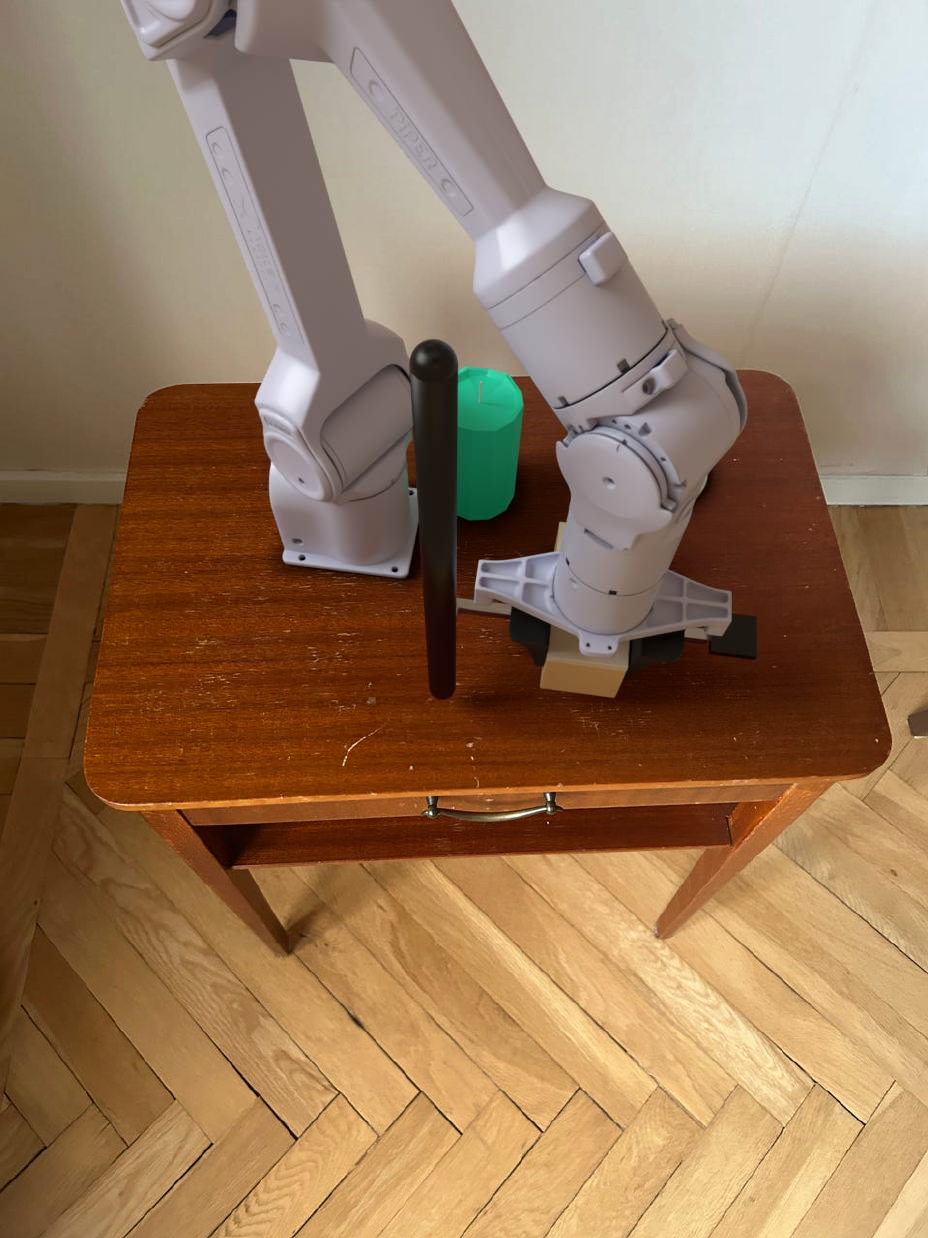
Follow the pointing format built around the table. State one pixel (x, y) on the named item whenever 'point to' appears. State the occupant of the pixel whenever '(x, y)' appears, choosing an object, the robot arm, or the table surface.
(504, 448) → the candle
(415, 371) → the black upright rod
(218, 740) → the table surface
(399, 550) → the robot arm
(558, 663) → the beige block
